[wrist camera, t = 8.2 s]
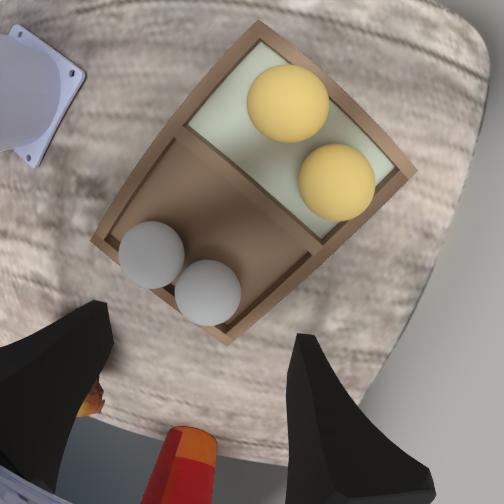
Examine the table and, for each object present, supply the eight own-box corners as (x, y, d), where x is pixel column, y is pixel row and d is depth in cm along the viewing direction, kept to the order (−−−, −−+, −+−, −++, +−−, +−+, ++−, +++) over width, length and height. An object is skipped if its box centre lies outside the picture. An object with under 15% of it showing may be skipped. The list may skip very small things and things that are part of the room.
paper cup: (172, 453, 33) (146, 550, 20) (148, 418, 30) (109, 529, 17) (234, 457, 32) (219, 562, 19) (218, 421, 29) (194, 548, 16)
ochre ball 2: (281, 175, 18) (282, 193, 14) (329, 125, 17) (343, 130, 13) (330, 221, 19) (342, 249, 15) (378, 174, 17) (401, 192, 14)
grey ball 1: (113, 237, 20) (102, 284, 17) (144, 196, 18) (134, 243, 15) (163, 262, 22) (160, 310, 19) (198, 227, 20) (198, 276, 17)
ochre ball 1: (245, 157, 16) (302, 147, 13) (220, 84, 14) (271, 57, 11) (298, 137, 18) (354, 127, 15) (277, 73, 16) (330, 52, 13)
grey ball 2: (184, 284, 22) (150, 300, 18) (217, 242, 21) (185, 250, 17) (225, 325, 22) (198, 349, 18) (262, 285, 20) (239, 303, 17)
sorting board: (100, 232, 21) (88, 241, 20) (260, 26, 15) (258, 18, 13) (229, 333, 24) (226, 348, 22) (408, 165, 18) (419, 171, 16)
